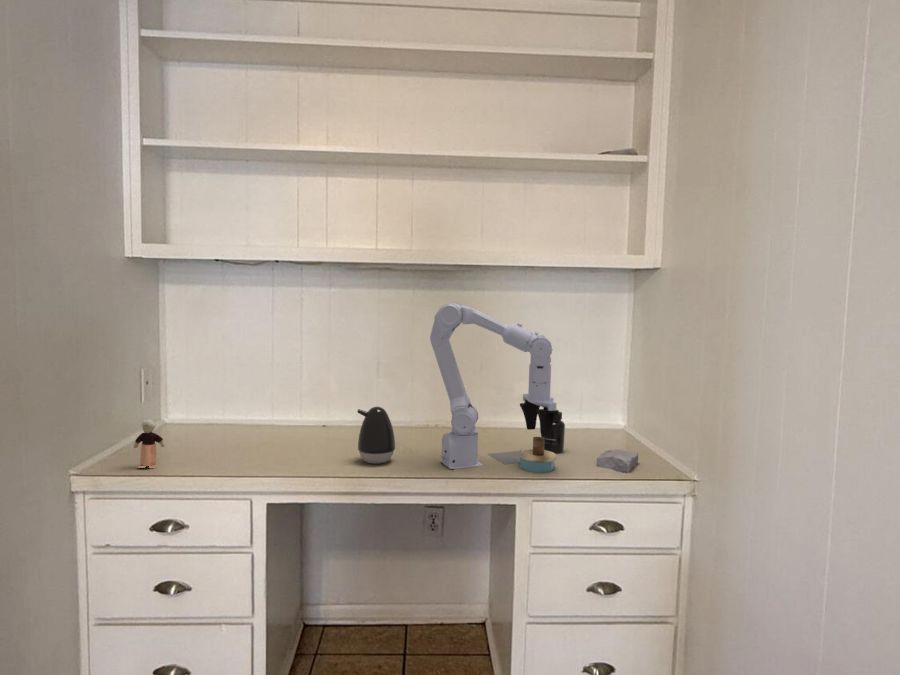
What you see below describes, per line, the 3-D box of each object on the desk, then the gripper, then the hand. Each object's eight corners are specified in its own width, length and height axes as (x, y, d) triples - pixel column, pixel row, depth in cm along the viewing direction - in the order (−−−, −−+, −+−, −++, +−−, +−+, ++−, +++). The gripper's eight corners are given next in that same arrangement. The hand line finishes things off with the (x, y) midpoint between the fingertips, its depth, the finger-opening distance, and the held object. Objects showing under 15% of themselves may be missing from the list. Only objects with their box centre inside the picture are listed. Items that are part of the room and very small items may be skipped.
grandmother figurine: (131, 470, 157) (130, 421, 156) (134, 466, 160) (133, 418, 159) (164, 468, 159) (163, 420, 158) (166, 464, 162) (166, 417, 161)
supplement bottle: (546, 455, 179) (547, 414, 178) (536, 449, 185) (538, 410, 184) (567, 454, 180) (569, 413, 179) (557, 448, 187) (559, 409, 186)
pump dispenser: (359, 455, 174) (360, 402, 173) (396, 456, 174) (397, 403, 173) (354, 466, 164) (354, 410, 163) (393, 467, 164) (393, 410, 163)
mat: (504, 465, 168) (504, 464, 168) (487, 455, 178) (487, 453, 178) (539, 462, 172) (539, 460, 172) (521, 452, 182) (521, 450, 182)
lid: (530, 463, 159) (530, 443, 158) (514, 453, 168) (514, 435, 167) (563, 460, 162) (563, 441, 162) (545, 451, 171) (546, 432, 171)
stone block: (594, 475, 167) (632, 473, 162) (592, 457, 167) (629, 455, 163) (605, 466, 178) (641, 464, 173) (603, 449, 178) (638, 447, 173)
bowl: (530, 475, 160) (531, 462, 159) (515, 466, 167) (516, 454, 167) (559, 472, 163) (559, 460, 162) (542, 463, 170) (543, 452, 170)
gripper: (567, 385, 158) (565, 437, 159) (539, 377, 171) (537, 425, 173) (543, 386, 155) (541, 439, 157) (516, 378, 169) (515, 427, 170)
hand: (538, 432), depth 164 cm, fingers open, 7 cm apart
